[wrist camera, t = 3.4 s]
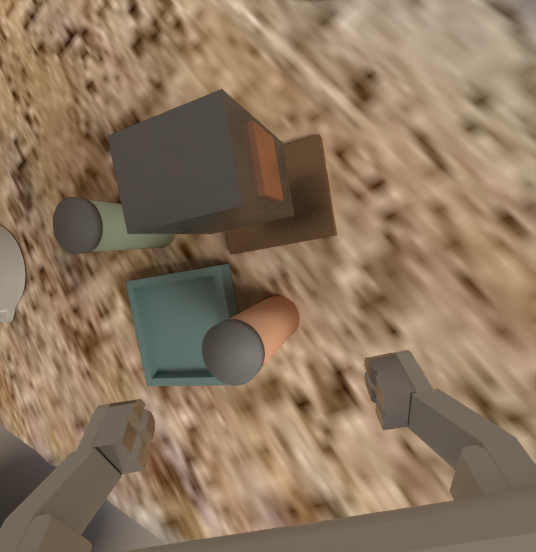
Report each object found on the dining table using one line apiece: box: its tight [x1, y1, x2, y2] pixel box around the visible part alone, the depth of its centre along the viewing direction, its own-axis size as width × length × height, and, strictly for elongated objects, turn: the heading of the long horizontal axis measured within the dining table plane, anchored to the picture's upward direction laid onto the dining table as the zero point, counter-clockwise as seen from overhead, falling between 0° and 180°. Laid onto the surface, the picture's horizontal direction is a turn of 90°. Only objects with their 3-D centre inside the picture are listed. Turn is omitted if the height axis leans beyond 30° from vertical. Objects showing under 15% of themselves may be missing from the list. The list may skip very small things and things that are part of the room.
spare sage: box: [53, 197, 175, 254], centre depth 35 cm, size 5×5×12 cm
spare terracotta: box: [202, 296, 299, 386], centre depth 31 cm, size 5×5×12 cm
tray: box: [126, 264, 238, 386], centre depth 39 cm, size 14×14×2 cm
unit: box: [108, 89, 337, 255], centre depth 26 cm, size 12×10×18 cm
